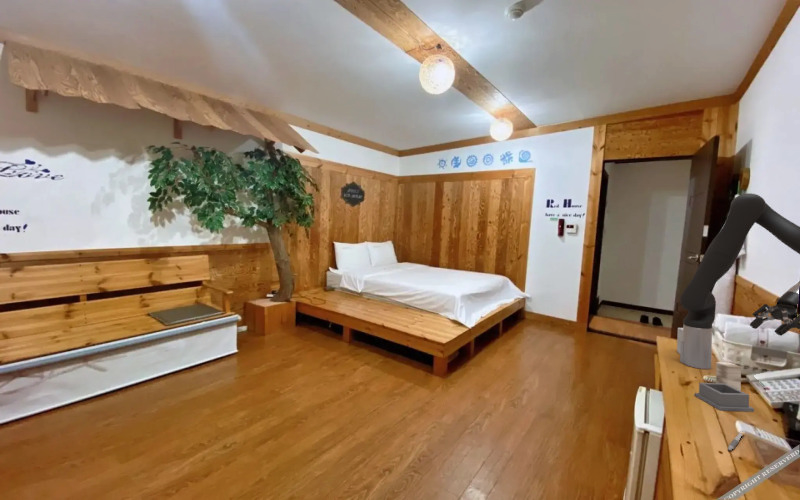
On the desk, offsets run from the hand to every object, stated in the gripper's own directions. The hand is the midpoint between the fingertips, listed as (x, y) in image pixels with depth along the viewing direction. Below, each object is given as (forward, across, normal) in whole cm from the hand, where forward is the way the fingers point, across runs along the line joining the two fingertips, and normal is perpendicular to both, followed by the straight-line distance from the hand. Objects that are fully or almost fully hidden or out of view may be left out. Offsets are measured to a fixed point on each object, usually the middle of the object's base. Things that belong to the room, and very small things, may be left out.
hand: (764, 330), depth 115 cm
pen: (+42, +31, -9) cm, 53 cm away
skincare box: (+13, -40, +19) cm, 46 cm away
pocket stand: (+31, +8, +1) cm, 32 cm away
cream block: (+24, 0, +8) cm, 25 cm away
